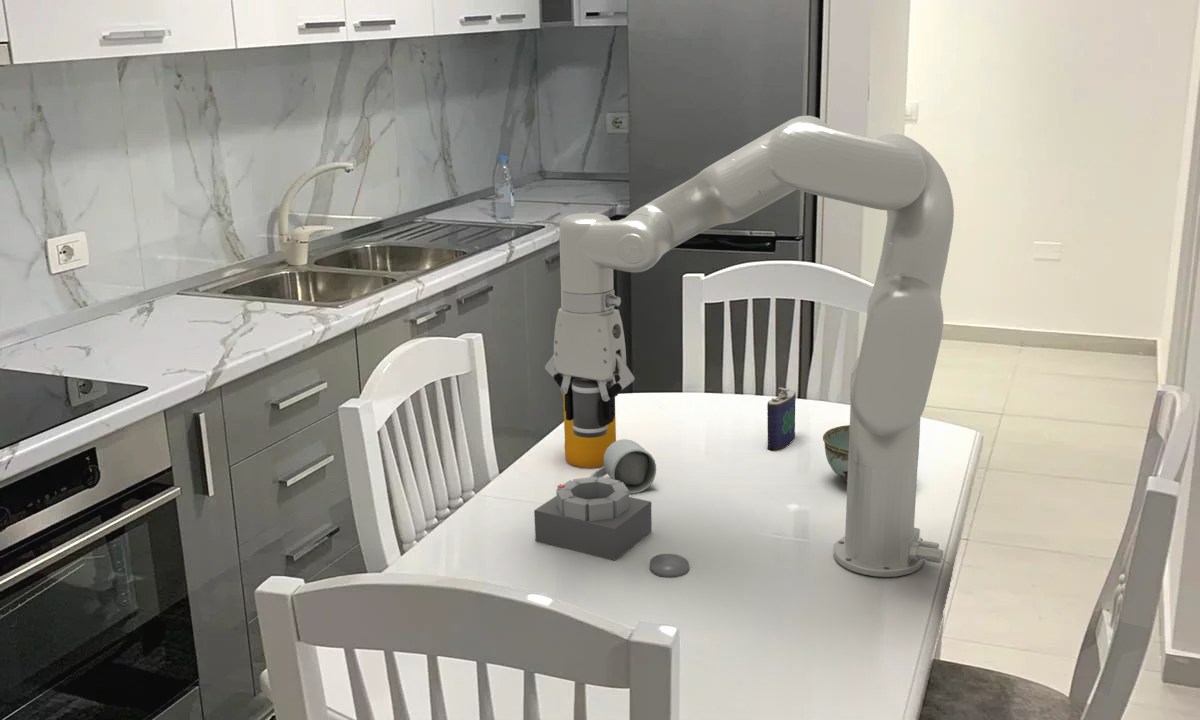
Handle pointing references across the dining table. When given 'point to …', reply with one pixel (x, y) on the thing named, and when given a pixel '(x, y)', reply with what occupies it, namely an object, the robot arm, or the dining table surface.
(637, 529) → the camera body
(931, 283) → the robot arm
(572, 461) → the beer bottle
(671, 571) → the lens cap
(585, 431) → the lens
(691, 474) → the dining table surface
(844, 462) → the bowl
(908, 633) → the dining table surface
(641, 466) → the ceramic mug
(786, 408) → the flask
